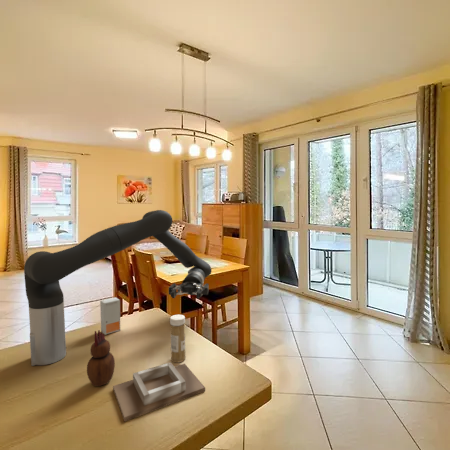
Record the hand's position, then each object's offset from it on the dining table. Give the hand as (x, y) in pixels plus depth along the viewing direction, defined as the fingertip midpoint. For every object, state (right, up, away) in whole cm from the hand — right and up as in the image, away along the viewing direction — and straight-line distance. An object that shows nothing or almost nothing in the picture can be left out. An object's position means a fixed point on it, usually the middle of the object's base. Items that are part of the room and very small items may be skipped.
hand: (185, 295), depth 100 cm
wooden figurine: (-20, -18, -21) cm, 34 cm away
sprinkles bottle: (-1, -17, -10) cm, 20 cm away
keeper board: (-3, -18, -25) cm, 31 cm away
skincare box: (-29, -16, +10) cm, 35 cm away
